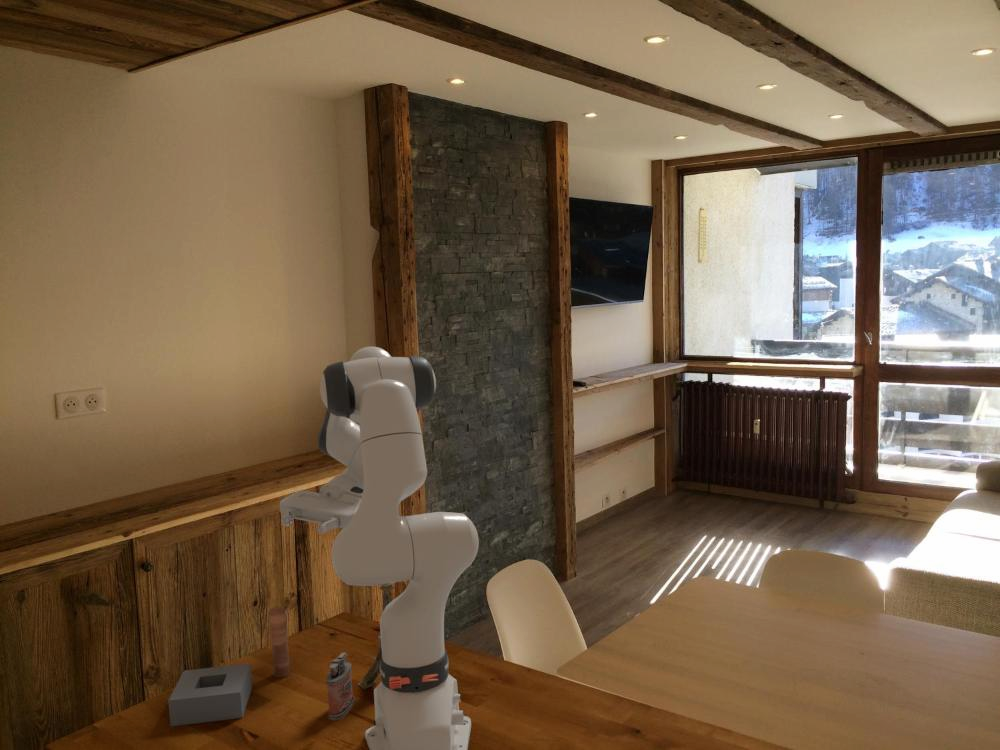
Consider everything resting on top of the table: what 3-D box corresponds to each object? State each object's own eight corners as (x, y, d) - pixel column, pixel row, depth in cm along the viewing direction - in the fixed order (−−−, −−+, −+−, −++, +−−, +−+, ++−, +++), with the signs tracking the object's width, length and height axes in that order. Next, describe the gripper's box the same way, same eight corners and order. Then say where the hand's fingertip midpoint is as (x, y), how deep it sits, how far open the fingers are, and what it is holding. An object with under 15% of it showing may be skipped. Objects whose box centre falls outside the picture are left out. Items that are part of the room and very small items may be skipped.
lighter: (341, 720, 156) (338, 668, 155) (324, 719, 157) (320, 667, 156) (357, 699, 164) (354, 650, 163) (341, 699, 164) (337, 649, 164)
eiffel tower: (402, 668, 177) (394, 552, 175) (430, 684, 169) (422, 563, 166) (357, 685, 170) (348, 564, 168) (384, 702, 162) (375, 576, 160)
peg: (289, 676, 176) (284, 611, 174) (273, 678, 175) (268, 613, 174) (290, 670, 179) (285, 606, 178) (275, 671, 178) (270, 607, 177)
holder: (242, 717, 159) (240, 692, 159) (170, 726, 157) (168, 700, 157) (252, 686, 172) (250, 663, 171) (186, 694, 170) (183, 670, 170)
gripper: (299, 479, 197) (261, 506, 186) (374, 492, 189) (338, 521, 177) (303, 503, 200) (265, 531, 188) (376, 517, 191) (342, 547, 180)
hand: (301, 526), depth 182 cm, fingers open, 8 cm apart
